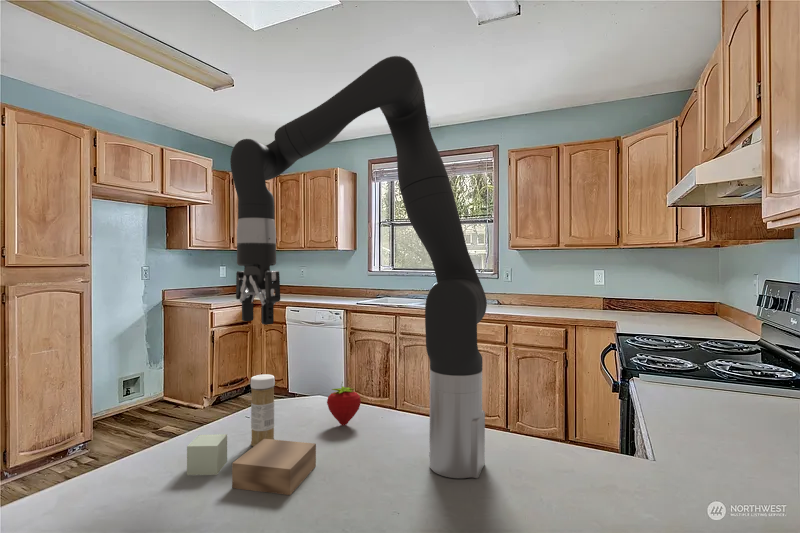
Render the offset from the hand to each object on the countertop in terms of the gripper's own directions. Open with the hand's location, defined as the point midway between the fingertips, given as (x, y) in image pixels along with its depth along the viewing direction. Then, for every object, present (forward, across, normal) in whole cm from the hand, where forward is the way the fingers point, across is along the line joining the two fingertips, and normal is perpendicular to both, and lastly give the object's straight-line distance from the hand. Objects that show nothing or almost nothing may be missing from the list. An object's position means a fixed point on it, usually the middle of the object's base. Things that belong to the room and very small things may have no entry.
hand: (257, 322), depth 88 cm
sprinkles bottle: (+24, -2, 0) cm, 24 cm away
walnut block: (+24, -16, +5) cm, 29 cm away
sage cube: (+24, -5, +12) cm, 27 cm away
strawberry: (+24, -5, -18) cm, 31 cm away
